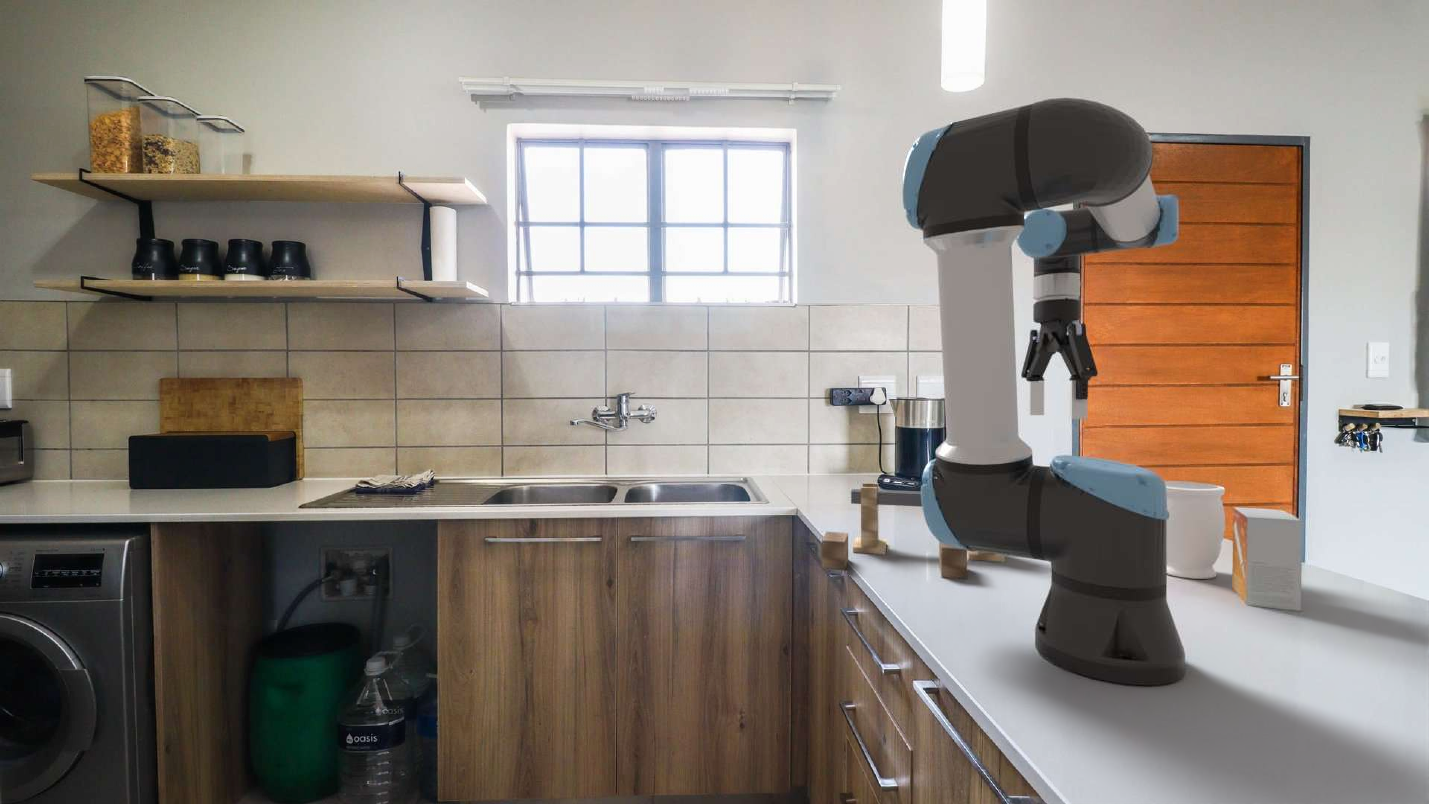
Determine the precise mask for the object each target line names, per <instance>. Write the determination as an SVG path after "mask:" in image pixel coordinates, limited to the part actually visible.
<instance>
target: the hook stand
mask: <svg viewBox="0 0 1429 804" xmlns="http://www.w3.org/2000/svg"><path fill="white" fill-rule="evenodd" d="M860 489H861V504H860V530H861V531H860V537H855V539H854V543H853V546H852V553H859V554H876V555H885V554H886V548H887V539H886V538H879V505H877V490H879V483H878V482H862V486H860ZM967 559H968V560H970V561H972V560H973V561H987V562H1001V563H1002V562H1003V563H1004V562H1005V555H1001V554H994V553H987V552H980V551H974V552H971V551H967Z"/></svg>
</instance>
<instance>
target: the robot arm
mask: <svg viewBox="0 0 1429 804" xmlns="http://www.w3.org/2000/svg"><path fill="white" fill-rule="evenodd" d="M1153 164H1154V150H1153V145H1152V143H1151V140H1150V137H1149V135H1148V133H1147V132H1146V130H1145V128H1144V127H1142V125H1141V124H1140V123H1138V122H1137V121H1136V120H1135V119H1134V118H1133V117H1132V116H1130V115H1128V114H1126V112H1123V111H1121V110H1119V109H1117V108H1115V107H1112V106H1111V105H1107V104H1105V103H1101V102H1098V101H1094V100H1089V99H1083V98H1072V97H1057V98H1056V97H1055V98H1048V99H1044V100H1040V101H1035V102H1034V103H1030V104H1027V105H1022V106H1018V107H1014V108H1009V109H1005V110H1001V111H997V112H992V113H988V114H984V115H980V116H976V117H973V118H968V119H967V118H966V119H963V120H959V121H952V122H951V123H949V124H947V125H945V126H942V127H938V128H936V129H933V130H929V131H927V132H924V133H923V134H921V135H920V136H919V137H917V139H916V140H915V141H914V143H913V144H912V146H911V149H910V150H909V151H908V155H907V158H906V161H905V165H904V170H903V175H902V204H903V205H902V206H903V209H904V210H905V218H906V220H907V222H908V223H909V225H910V226H911V227H912V228H913V229H916V230H921V231H922V237H923V238H922V239H923V243H924V244H925V245H926V246H927V247H929V248H930V249H931V250H932V251H933V252H934V253H935V254H936V261H937V281H938V299H939V317H940V336H941V337H940V338H941V355H942V358H941V359H942V371H943V372H942V373H943V374H942V375H943V389H944V390H943V391H944V408H945V409H944V410H945V412H944V413H945V425H946V426H945V427H946V430H945V431H946V438H945V440H943V442H942V443H940V445H939V446H938V447H937V448H936V449H935V458H934V459H931V460H930V461H929V462H928V463H927V464H926V465H925V467H924V468H923V472H922V476H921V481H922V485H920V491H921V502H922V512H923V517H924V521H925V522H926V525H927V528H928V529H929V531H930V533H931V534H932V536H933V537H934V538H935V539H937V541H938V542H939V541H940V542H941V543H943V544H945V545H948V546H953V547H958V548H963V549H965V550H967V551H971V552H974V551H980V552H987V553H994V554H1001V555H1004V556H1010V557H1015V558H1023V559H1030V560H1039V561H1044V562H1049V563H1050V564H1051V568H1050V569H1051V577H1050V578H1051V582H1050V584H1051V585H1050V587H1049V590H1048V593H1047V595H1046V598H1045V601H1044V603H1043V606H1042V608H1041V611H1040V614H1039V615H1038V619H1037V622H1036V624H1035V629H1034V631H1035V632H1034V637H1035V639H1034V641H1035V642H1034V646H1035V649H1036V650H1037V652H1038V654H1039V655H1040V656H1042V657H1043V658H1045V660H1048V661H1049V662H1050V663H1052V664H1054V665H1056V666H1058V667H1060V668H1063V669H1064V670H1067V671H1069V672H1073V673H1076V674H1079V675H1082V676H1085V677H1089V678H1093V679H1097V680H1102V681H1106V682H1111V683H1117V684H1124V685H1133V686H1136V685H1137V686H1158V685H1161V686H1162V685H1166V684H1167V685H1168V684H1171V683H1174V682H1177V681H1180V680H1182V678H1183V677H1184V676H1185V675H1186V674H1185V673H1186V653H1185V648H1184V646H1183V643H1182V640H1181V637H1180V635H1179V632H1178V628H1177V626H1176V624H1175V621H1174V618H1173V616H1172V613H1171V609H1170V607H1169V605H1168V596H1167V593H1168V592H1167V580H1168V579H1167V578H1168V577H1167V575H1168V574H1167V519H1169V515H1170V514H1169V511H1168V510H1167V494H1166V485H1165V483H1164V481H1165V480H1164V479H1163V478H1162V477H1161V476H1160V475H1159V474H1157V473H1156V472H1155V471H1152V470H1150V469H1147V468H1146V467H1145V468H1144V467H1141V466H1138V465H1134V464H1130V463H1126V462H1121V461H1117V460H1116V461H1115V460H1109V459H1106V458H1105V459H1104V458H1098V457H1090V456H1078V455H1067V454H1065V455H1064V454H1063V455H1061V454H1060V455H1055V456H1054V457H1052V461H1051V462H1050V463H1049V466H1041V465H1035V464H1034V463H1033V461H1034V460H1033V448H1032V447H1031V446H1029V445H1028V444H1027V443H1026V442H1025V441H1024V440H1023V439H1021V438H1020V436H1019V418H1018V417H1019V416H1018V415H1019V414H1018V413H1019V412H1018V387H1017V358H1016V357H1017V356H1016V337H1015V336H1016V335H1015V334H1016V333H1015V332H1016V330H1015V310H1014V309H1015V307H1014V305H1015V304H1014V281H1013V280H1014V279H1013V277H1014V276H1013V275H1014V274H1013V255H1012V250H1013V248H1012V246H1013V244H1014V242H1015V241H1016V244H1017V245H1018V247H1019V248H1020V250H1021V252H1022V253H1023V254H1025V256H1027V257H1030V258H1031V259H1032V258H1033V278H1032V279H1033V284H1032V285H1033V287H1032V289H1033V291H1032V293H1033V294H1032V295H1033V298H1032V299H1034V300H1035V301H1036V302H1034V304H1033V305H1032V306H1033V307H1032V308H1033V309H1032V310H1033V311H1032V314H1033V317H1032V318H1033V322H1034V323H1035V324H1039V325H1040V329H1031V330H1030V331H1029V343H1028V346H1027V350H1026V355H1025V359H1024V362H1023V366H1022V370H1021V374H1020V375H1021V378H1022V379H1025V380H1026V382H1027V383H1028V384H1027V387H1028V388H1027V391H1028V392H1027V395H1028V396H1027V399H1028V401H1027V403H1028V408H1027V410H1028V411H1027V413H1028V414H1027V415H1028V416H1045V378H1044V374H1045V372H1046V370H1047V368H1048V366H1049V363H1050V361H1051V359H1052V357H1053V355H1055V354H1056V353H1059V354H1060V356H1061V358H1062V360H1063V361H1064V363H1065V366H1066V368H1067V370H1068V372H1069V373H1070V375H1071V376H1070V377H1069V378H1068V380H1069V384H1068V385H1069V386H1068V387H1069V389H1068V390H1069V391H1068V393H1069V394H1068V395H1069V396H1068V398H1069V399H1068V400H1069V401H1068V402H1069V403H1068V413H1069V415H1068V416H1069V417H1068V419H1069V420H1087V419H1088V398H1089V381H1090V380H1091V378H1093V377H1094V378H1095V377H1097V376H1098V374H1099V372H1098V368H1097V365H1096V363H1095V359H1094V356H1093V353H1092V349H1091V346H1090V343H1089V340H1088V337H1087V327H1086V323H1081V322H1080V323H1079V322H1078V323H1074V322H1077V321H1080V318H1081V301H1080V300H1079V299H1077V298H1079V297H1080V295H1081V285H1082V284H1081V268H1080V267H1081V256H1086V255H1094V254H1101V253H1108V252H1118V251H1119V252H1120V251H1126V250H1129V251H1130V250H1137V249H1145V248H1147V249H1153V248H1155V247H1160V246H1167V245H1171V244H1173V243H1175V242H1176V241H1177V239H1178V237H1179V229H1180V227H1179V224H1180V220H1179V219H1180V217H1179V216H1180V214H1179V213H1180V211H1179V210H1180V209H1179V198H1178V197H1177V196H1176V195H1175V194H1166V195H1165V194H1164V195H1163V194H1162V195H1160V194H1159V195H1158V194H1156V191H1155V187H1154V186H1153V182H1152V179H1151V176H1150V174H1151V171H1152V167H1153ZM1071 204H1078V205H1080V206H1084V207H1081V208H1075V209H1074V208H1073V209H1068V210H1054V209H1050V208H1053V207H1059V206H1060V207H1061V206H1065V205H1066V206H1067V205H1071ZM1028 212H1029V213H1028ZM1026 213H1027V214H1026ZM1025 214H1026V215H1025Z"/></svg>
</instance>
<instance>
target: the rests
mask: <svg viewBox="0 0 1429 804" xmlns="http://www.w3.org/2000/svg"><path fill="white" fill-rule="evenodd" d="M938 544H939V548H938V549H939V550H938V551H939V554H938V555H939V556H938V557H939V559H938V561H939V563H938V564H939V571H940V577H941V578H947V579H948V578H949V579H962V580H963V579H964V580H967V579H968V555H967V550H965V549H963V548H958V547H953V546H948V545H945V544H943V543H941V542H940V541H938ZM848 562H849V532H840V531H838V532H836V531H826V532H825V533H824V536H823V537H822V539H821V569H824V570H839V571H845V570H846V568H847V564H848Z"/></svg>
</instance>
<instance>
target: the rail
mask: <svg viewBox="0 0 1429 804" xmlns="http://www.w3.org/2000/svg"><path fill="white" fill-rule="evenodd" d="M850 495H851V496H850V497H851V498H850V504H854V505H855V504H856V505H861V488H859V489H858V488H852V489H851V491H850ZM877 505H878V506H898V507H899V506H900V507H902V506H903V507H904V506H905V507H920V508H921V507H922V502H921V490H920V491H917V490H916V491H914V490H889V489H885V490H884V489H878V490H877Z"/></svg>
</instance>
